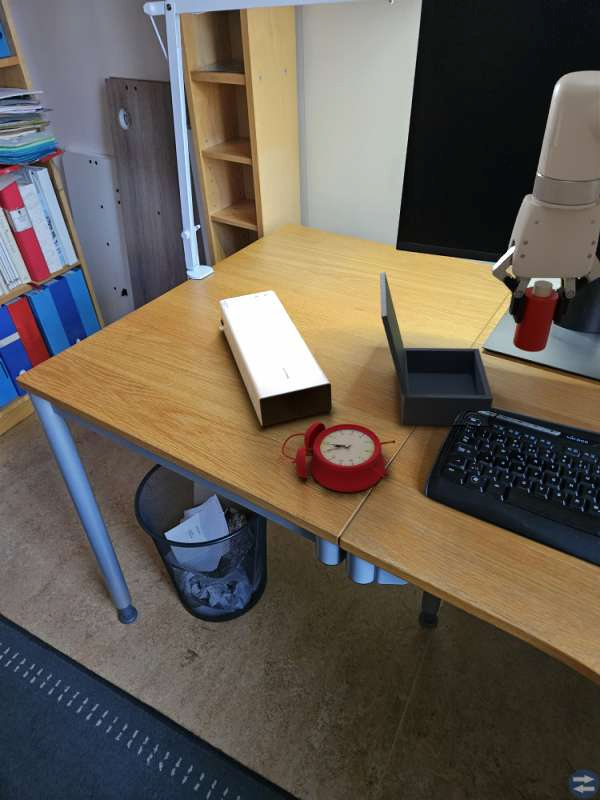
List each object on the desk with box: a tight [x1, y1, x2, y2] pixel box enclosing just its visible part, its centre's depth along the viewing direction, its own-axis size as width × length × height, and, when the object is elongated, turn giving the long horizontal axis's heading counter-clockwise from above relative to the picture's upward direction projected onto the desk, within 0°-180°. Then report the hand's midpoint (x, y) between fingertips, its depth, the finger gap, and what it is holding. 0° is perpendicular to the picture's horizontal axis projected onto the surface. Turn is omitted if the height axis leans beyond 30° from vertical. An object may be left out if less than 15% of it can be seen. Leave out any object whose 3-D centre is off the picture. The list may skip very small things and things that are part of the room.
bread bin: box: [399, 347, 494, 427], centre depth 88 cm, size 13×14×5 cm
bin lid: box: [379, 272, 407, 395], centre depth 83 cm, size 13×14×1 cm
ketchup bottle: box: [512, 279, 559, 353], centre depth 79 cm, size 5×5×10 cm
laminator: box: [218, 289, 333, 428], centre depth 98 cm, size 34×12×6 cm, turn 17°
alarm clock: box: [281, 421, 396, 493], centre depth 78 cm, size 10×6×15 cm
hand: (535, 317), depth 80 cm, fingers closed on ketchup bottle, 4 cm apart
